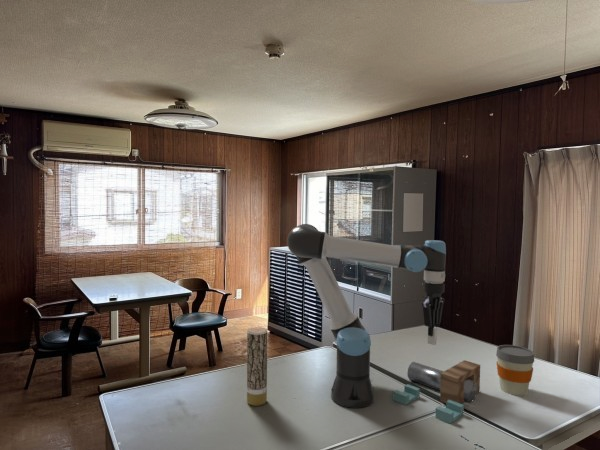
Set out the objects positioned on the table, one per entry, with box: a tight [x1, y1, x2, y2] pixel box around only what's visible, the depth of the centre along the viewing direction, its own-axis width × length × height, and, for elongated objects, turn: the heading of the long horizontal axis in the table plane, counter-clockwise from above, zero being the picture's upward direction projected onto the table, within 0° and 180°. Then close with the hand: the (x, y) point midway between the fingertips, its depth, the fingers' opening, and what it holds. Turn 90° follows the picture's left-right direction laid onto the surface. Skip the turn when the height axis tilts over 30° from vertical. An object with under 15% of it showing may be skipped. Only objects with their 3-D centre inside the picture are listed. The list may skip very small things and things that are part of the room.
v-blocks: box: [392, 384, 465, 424], centre depth 138 cm, size 9×21×3 cm, turn 43°
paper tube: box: [246, 326, 268, 407], centre depth 139 cm, size 7×7×25 cm
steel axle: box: [407, 361, 478, 403], centre depth 151 cm, size 24×7×7 cm, turn 43°
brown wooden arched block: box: [439, 360, 481, 405], centre depth 145 cm, size 18×6×10 cm, turn 133°
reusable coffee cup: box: [495, 344, 535, 397], centre depth 151 cm, size 13×13×15 cm
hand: (431, 343), depth 153 cm, fingers closed
